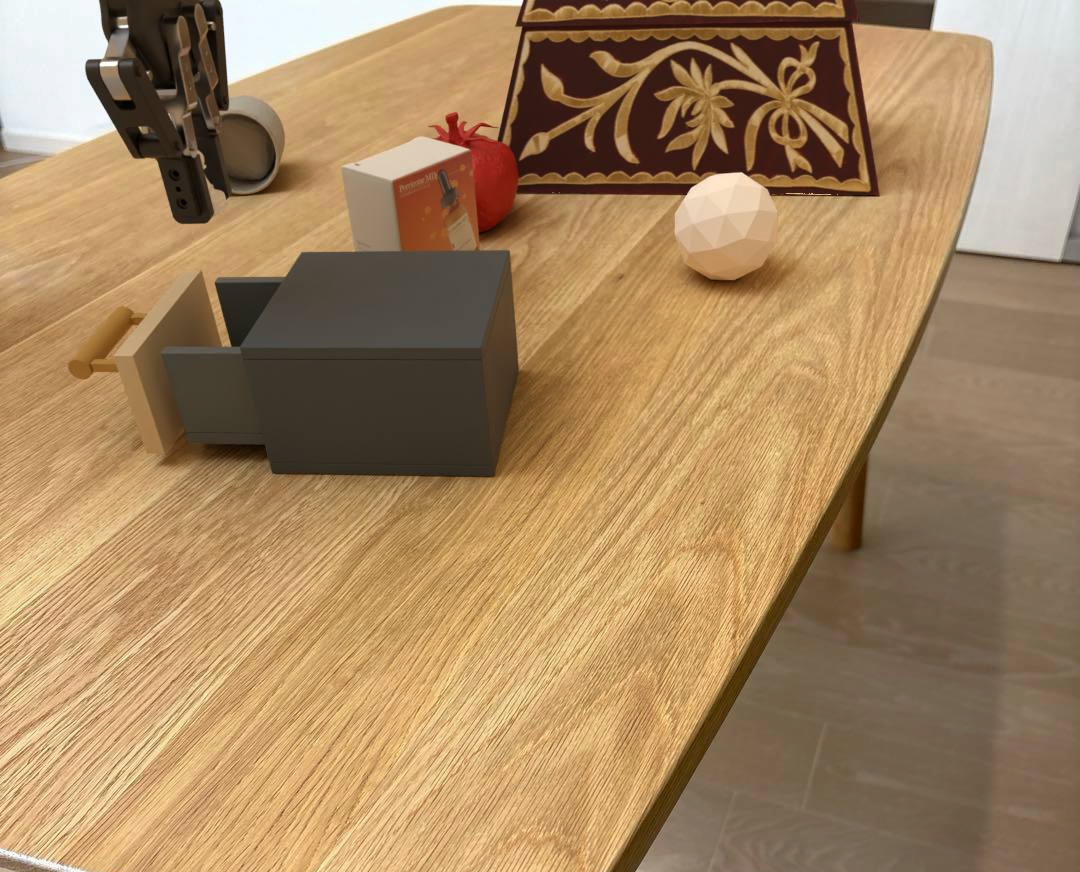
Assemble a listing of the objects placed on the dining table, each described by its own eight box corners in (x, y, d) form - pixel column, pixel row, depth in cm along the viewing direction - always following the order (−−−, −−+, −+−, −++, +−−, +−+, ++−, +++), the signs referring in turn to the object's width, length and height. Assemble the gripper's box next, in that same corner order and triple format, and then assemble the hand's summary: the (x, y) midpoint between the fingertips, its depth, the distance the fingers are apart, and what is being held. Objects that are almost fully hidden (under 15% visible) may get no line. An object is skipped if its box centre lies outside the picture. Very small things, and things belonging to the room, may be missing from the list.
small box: (409, 322, 79) (389, 181, 72) (361, 301, 82) (337, 165, 75) (486, 283, 83) (473, 147, 77) (437, 265, 86) (421, 133, 80)
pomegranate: (533, 200, 96) (526, 93, 90) (505, 246, 89) (496, 132, 83) (428, 196, 98) (415, 91, 92) (392, 241, 91) (376, 129, 85)
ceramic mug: (293, 161, 108) (276, 81, 103) (287, 190, 101) (269, 107, 96) (187, 173, 107) (165, 93, 102) (175, 203, 101) (151, 120, 96)
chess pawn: (193, 223, 61) (177, 161, 59) (176, 210, 62) (159, 150, 60) (235, 210, 62) (220, 150, 60) (217, 198, 64) (202, 139, 61)
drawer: (77, 453, 66) (38, 355, 62) (148, 360, 75) (118, 269, 70) (345, 456, 64) (324, 356, 60) (385, 361, 73) (370, 268, 68)
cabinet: (271, 473, 65) (238, 347, 59) (325, 368, 74) (301, 251, 69) (494, 477, 63) (481, 347, 58) (519, 369, 73) (509, 249, 67)
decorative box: (864, 122, 107) (895, -111, 95) (879, 196, 93) (918, -69, 80) (522, 123, 113) (508, -97, 100) (485, 192, 98) (464, -55, 86)
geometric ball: (714, 318, 83) (673, 260, 76) (687, 245, 87) (645, 184, 80) (806, 269, 80) (771, 205, 74) (773, 196, 84) (737, 130, 78)
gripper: (99, -154, 57) (185, 169, 68) (-34, -113, 46) (93, 262, 57) (235, -161, 56) (299, 166, 67) (131, -121, 45) (228, 261, 56)
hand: (204, 209), depth 62 cm, fingers closed on chess pawn, 2 cm apart
